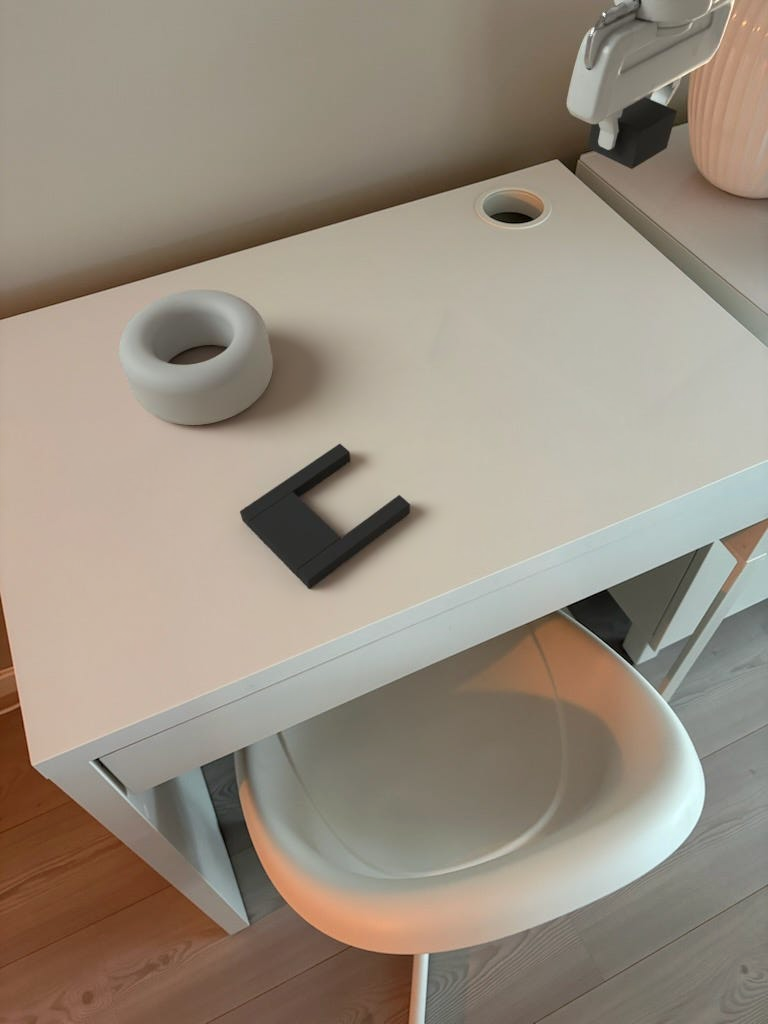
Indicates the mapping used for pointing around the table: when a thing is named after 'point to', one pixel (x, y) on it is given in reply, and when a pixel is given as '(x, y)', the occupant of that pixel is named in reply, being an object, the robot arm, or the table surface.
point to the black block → (638, 133)
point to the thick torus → (204, 385)
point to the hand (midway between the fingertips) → (630, 132)
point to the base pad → (314, 522)
